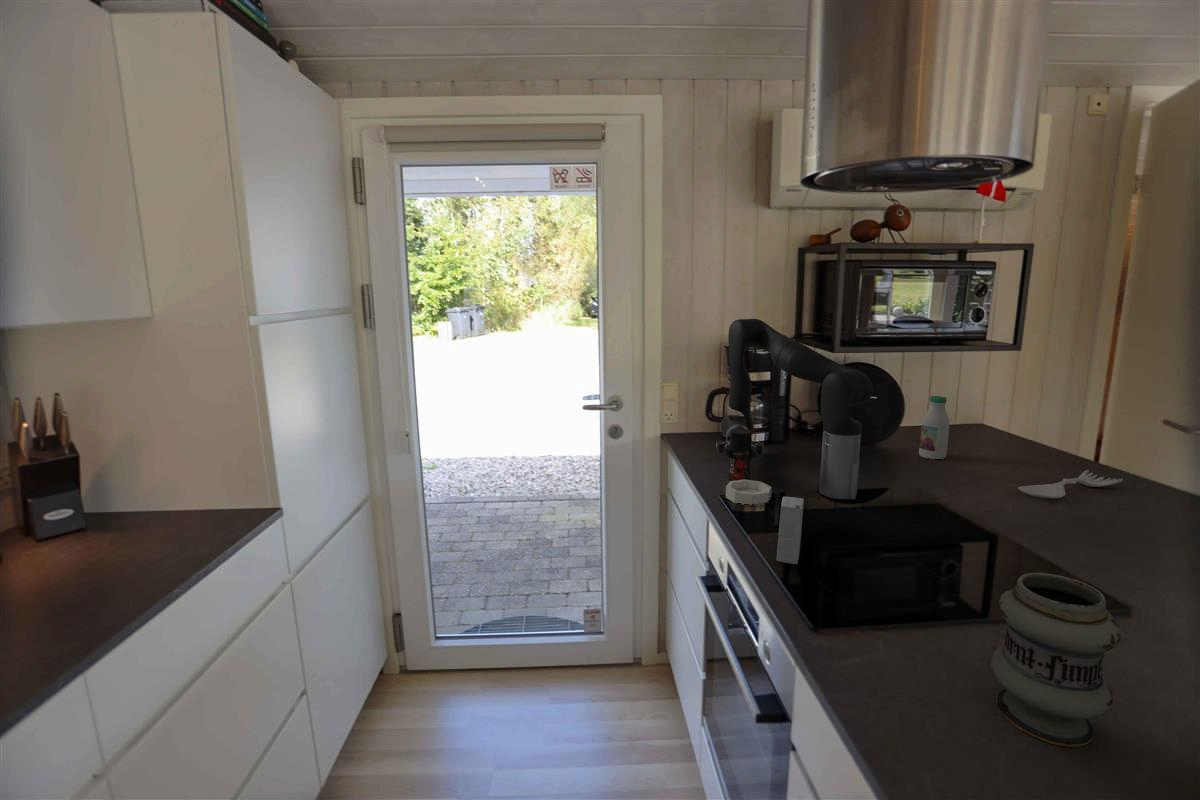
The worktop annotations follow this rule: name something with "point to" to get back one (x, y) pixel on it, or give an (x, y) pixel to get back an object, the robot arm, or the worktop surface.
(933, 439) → the milk bottle
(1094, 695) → the apothecary jar
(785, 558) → the skincare box
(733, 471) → the deodorant
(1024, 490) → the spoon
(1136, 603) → the worktop surface
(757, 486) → the dish
